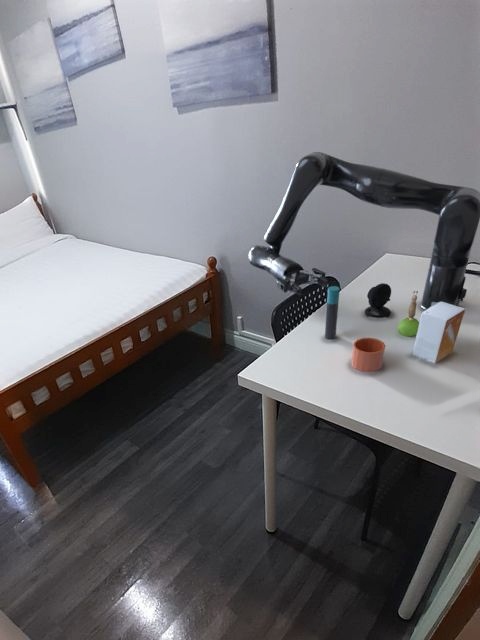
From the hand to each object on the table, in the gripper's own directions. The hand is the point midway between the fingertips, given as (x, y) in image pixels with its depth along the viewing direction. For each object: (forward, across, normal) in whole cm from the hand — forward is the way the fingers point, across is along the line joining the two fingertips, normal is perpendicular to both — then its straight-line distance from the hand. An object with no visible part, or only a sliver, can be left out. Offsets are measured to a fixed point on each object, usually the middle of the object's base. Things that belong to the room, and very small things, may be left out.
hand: (313, 288), depth 118 cm
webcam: (+5, +20, +13) cm, 24 cm away
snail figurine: (+19, +19, +13) cm, 30 cm away
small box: (+30, +17, +13) cm, 36 cm away
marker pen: (+10, 0, +12) cm, 16 cm away
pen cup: (+26, 0, +12) cm, 28 cm away
